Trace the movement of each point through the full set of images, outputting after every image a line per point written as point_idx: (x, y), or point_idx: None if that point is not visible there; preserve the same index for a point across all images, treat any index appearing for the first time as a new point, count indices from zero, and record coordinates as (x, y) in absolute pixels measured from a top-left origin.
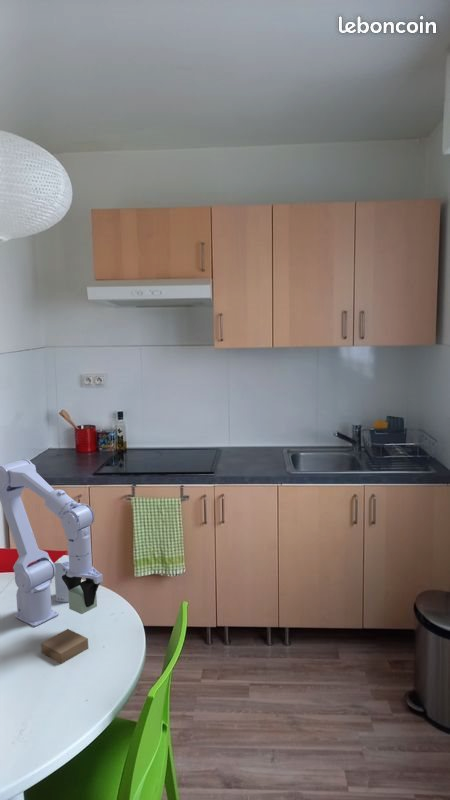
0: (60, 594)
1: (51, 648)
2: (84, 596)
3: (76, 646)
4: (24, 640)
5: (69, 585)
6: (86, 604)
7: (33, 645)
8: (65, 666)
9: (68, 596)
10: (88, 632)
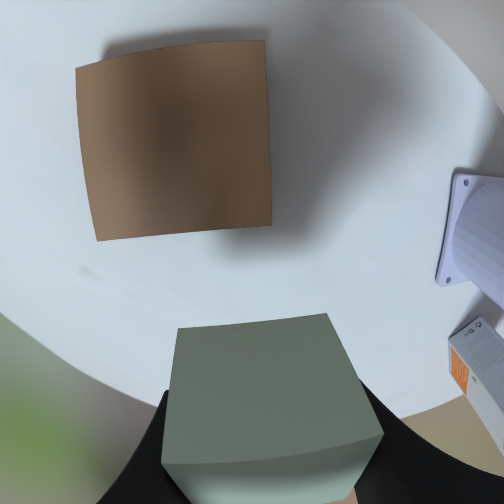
0: (482, 338)
1: (160, 49)
2: (156, 462)
3: (86, 164)
4: (410, 81)
5: (397, 479)
6: (163, 404)
7: (347, 71)
8: (70, 80)
9: (458, 352)
10: (232, 293)
